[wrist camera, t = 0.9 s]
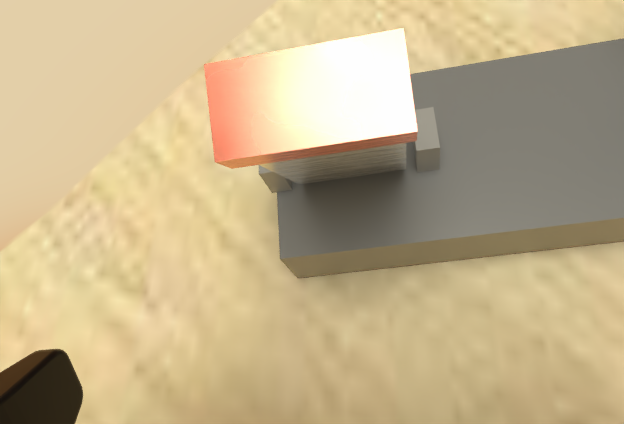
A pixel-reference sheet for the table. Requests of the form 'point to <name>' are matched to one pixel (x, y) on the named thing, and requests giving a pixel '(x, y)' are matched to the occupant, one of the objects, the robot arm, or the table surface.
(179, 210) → the table surface
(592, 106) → the switch box
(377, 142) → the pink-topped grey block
